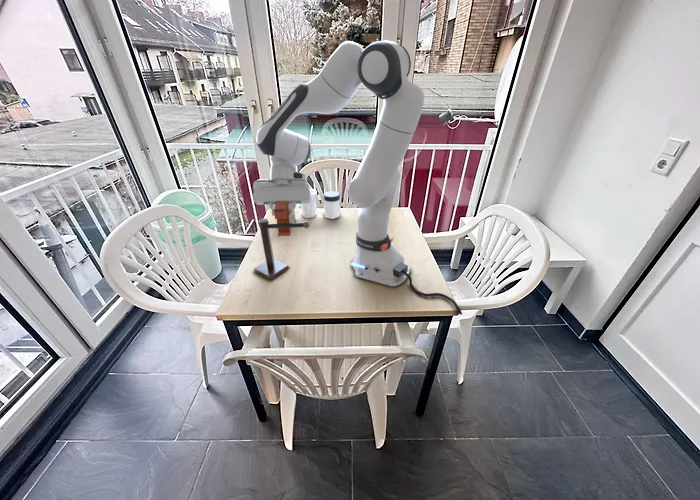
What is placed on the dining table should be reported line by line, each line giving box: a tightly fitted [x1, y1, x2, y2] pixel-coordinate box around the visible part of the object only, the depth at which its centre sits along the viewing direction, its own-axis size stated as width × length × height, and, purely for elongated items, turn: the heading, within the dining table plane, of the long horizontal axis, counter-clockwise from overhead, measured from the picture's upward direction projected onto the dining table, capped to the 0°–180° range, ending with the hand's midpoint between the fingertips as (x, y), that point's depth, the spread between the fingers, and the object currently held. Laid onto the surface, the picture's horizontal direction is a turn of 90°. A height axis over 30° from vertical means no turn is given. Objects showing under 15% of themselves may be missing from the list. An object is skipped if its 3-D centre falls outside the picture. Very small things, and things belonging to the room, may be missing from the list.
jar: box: [323, 190, 341, 220], centre depth 147 cm, size 9×8×12 cm
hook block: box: [273, 201, 293, 237], centre depth 100 cm, size 8×4×12 cm, turn 5°
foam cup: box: [300, 188, 318, 219], centre depth 147 cm, size 10×9×13 cm
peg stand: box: [253, 218, 311, 281], centre depth 104 cm, size 22×13×21 cm, turn 95°
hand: (282, 215), depth 101 cm, fingers closed on hook block, 4 cm apart
